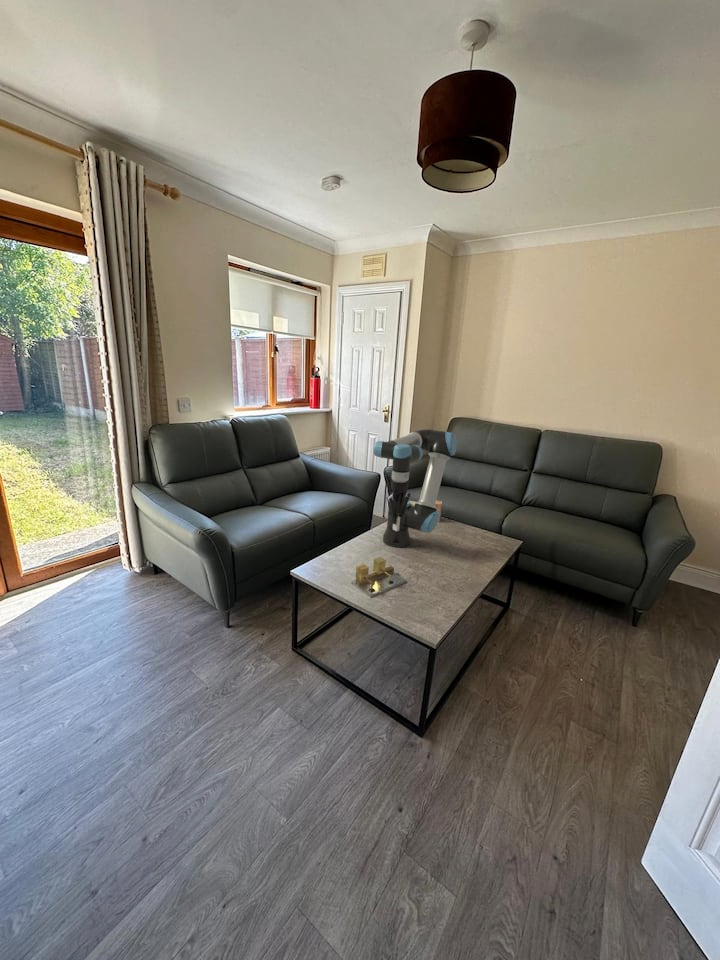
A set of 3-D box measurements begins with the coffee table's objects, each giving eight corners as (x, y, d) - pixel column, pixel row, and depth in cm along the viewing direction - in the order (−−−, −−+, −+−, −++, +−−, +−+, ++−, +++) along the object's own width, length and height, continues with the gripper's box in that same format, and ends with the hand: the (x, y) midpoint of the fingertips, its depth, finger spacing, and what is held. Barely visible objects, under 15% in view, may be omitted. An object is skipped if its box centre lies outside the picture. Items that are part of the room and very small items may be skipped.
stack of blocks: (405, 517, 249) (407, 499, 246) (407, 513, 255) (409, 496, 251) (439, 522, 243) (441, 504, 240) (440, 518, 249) (442, 500, 245)
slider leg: (372, 574, 176) (373, 559, 174) (379, 571, 179) (380, 556, 177) (387, 584, 169) (388, 568, 167) (394, 581, 172) (395, 565, 169)
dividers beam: (354, 582, 170) (355, 566, 168) (389, 569, 183) (390, 553, 181) (368, 593, 163) (369, 576, 161) (404, 578, 176) (405, 562, 173)
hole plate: (351, 583, 171) (351, 581, 171) (386, 569, 184) (386, 567, 184) (370, 597, 162) (370, 595, 162) (405, 582, 175) (405, 580, 174)
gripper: (395, 484, 162) (391, 536, 169) (416, 480, 170) (411, 529, 177) (383, 480, 167) (379, 530, 174) (404, 475, 175) (400, 524, 182)
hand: (395, 529), depth 175 cm, fingers closed
